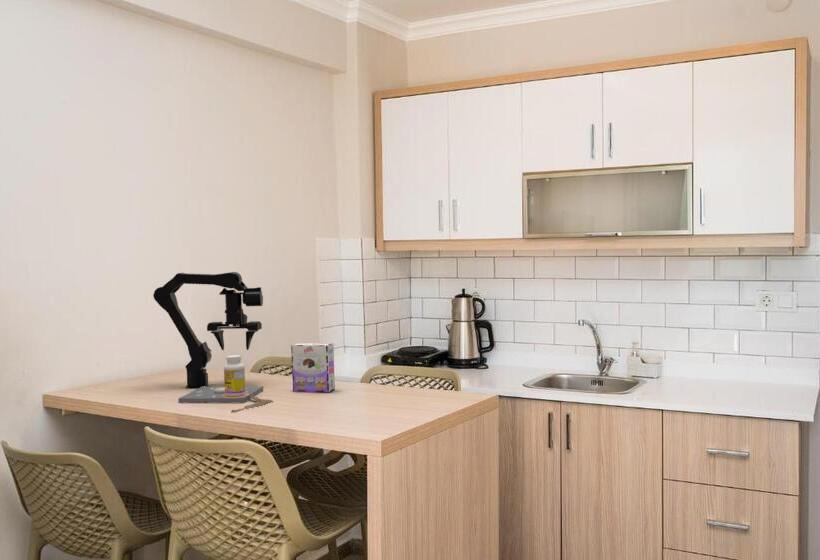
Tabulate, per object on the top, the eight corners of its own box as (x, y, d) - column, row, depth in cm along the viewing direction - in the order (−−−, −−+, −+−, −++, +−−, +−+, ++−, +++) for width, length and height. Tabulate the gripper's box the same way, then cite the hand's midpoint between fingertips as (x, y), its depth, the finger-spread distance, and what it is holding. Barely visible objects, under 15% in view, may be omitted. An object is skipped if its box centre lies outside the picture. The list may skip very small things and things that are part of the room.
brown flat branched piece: (276, 402, 266) (276, 396, 266) (259, 417, 246) (259, 410, 246) (249, 400, 267) (249, 394, 267) (230, 414, 247) (230, 408, 247)
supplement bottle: (222, 394, 267) (220, 356, 267) (241, 392, 271) (239, 353, 270) (229, 397, 262) (227, 358, 261) (248, 395, 265) (247, 356, 265)
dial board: (178, 402, 264) (178, 394, 264) (202, 390, 285) (202, 383, 285) (244, 403, 261) (243, 394, 261) (263, 390, 282) (262, 383, 282)
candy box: (335, 390, 281) (334, 342, 280) (328, 393, 275) (327, 345, 274) (299, 388, 285) (298, 342, 284) (291, 391, 280) (290, 344, 279)
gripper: (265, 304, 299) (266, 346, 300) (216, 305, 301) (218, 347, 302) (256, 307, 288) (257, 350, 289) (205, 308, 290) (207, 351, 291)
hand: (235, 349), depth 293 cm, fingers open, 9 cm apart
